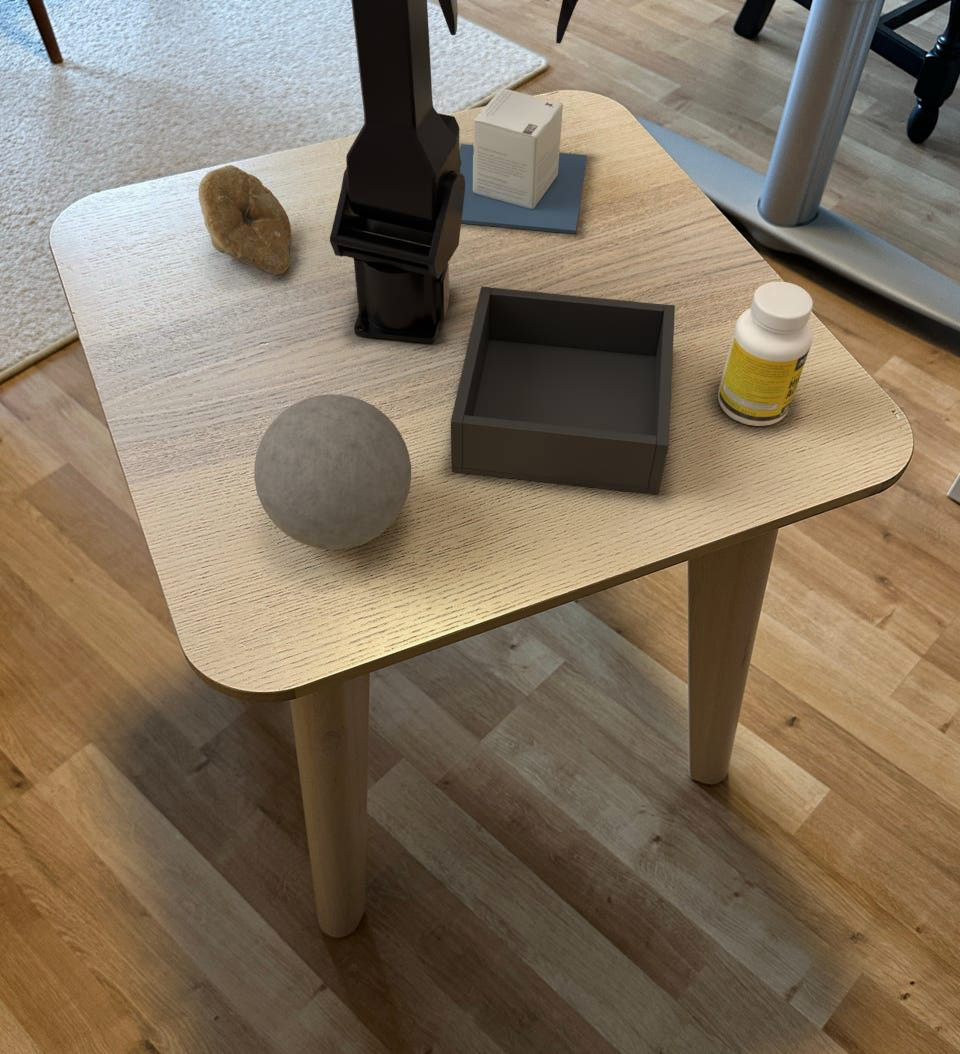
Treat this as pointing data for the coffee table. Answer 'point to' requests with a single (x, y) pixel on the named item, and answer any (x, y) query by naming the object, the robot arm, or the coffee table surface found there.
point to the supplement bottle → (767, 355)
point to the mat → (548, 215)
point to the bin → (565, 391)
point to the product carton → (516, 148)
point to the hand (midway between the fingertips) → (506, 37)
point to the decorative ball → (332, 472)
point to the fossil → (245, 219)
